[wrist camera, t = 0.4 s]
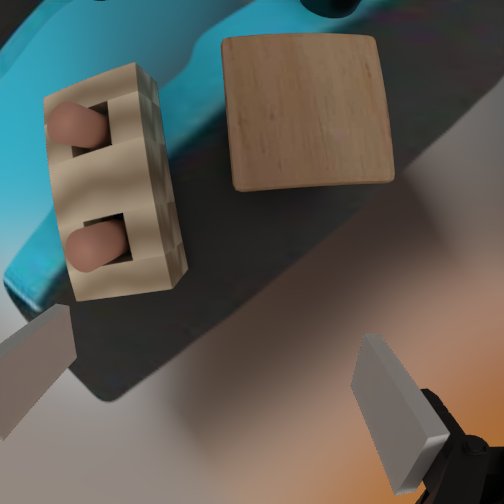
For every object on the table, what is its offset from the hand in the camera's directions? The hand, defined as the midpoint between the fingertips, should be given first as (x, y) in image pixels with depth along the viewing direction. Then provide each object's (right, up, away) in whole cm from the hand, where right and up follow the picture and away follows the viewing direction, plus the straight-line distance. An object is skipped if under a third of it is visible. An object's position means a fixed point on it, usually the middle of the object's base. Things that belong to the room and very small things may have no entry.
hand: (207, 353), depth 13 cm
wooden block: (+6, +17, +24) cm, 30 cm away
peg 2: (-13, +6, +21) cm, 26 cm away
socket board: (-14, +13, +25) cm, 31 cm away
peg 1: (-15, +18, +19) cm, 30 cm away
